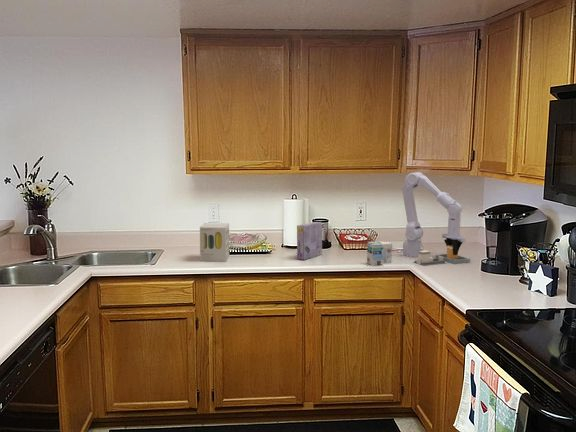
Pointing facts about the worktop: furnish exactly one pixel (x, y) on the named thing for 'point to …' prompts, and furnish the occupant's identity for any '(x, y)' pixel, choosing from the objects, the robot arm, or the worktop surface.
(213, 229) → the supplement box
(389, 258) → the light bulb box
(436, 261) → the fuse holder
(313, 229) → the cake pan box
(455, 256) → the block
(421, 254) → the cream rectangular block
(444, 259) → the slate tray
